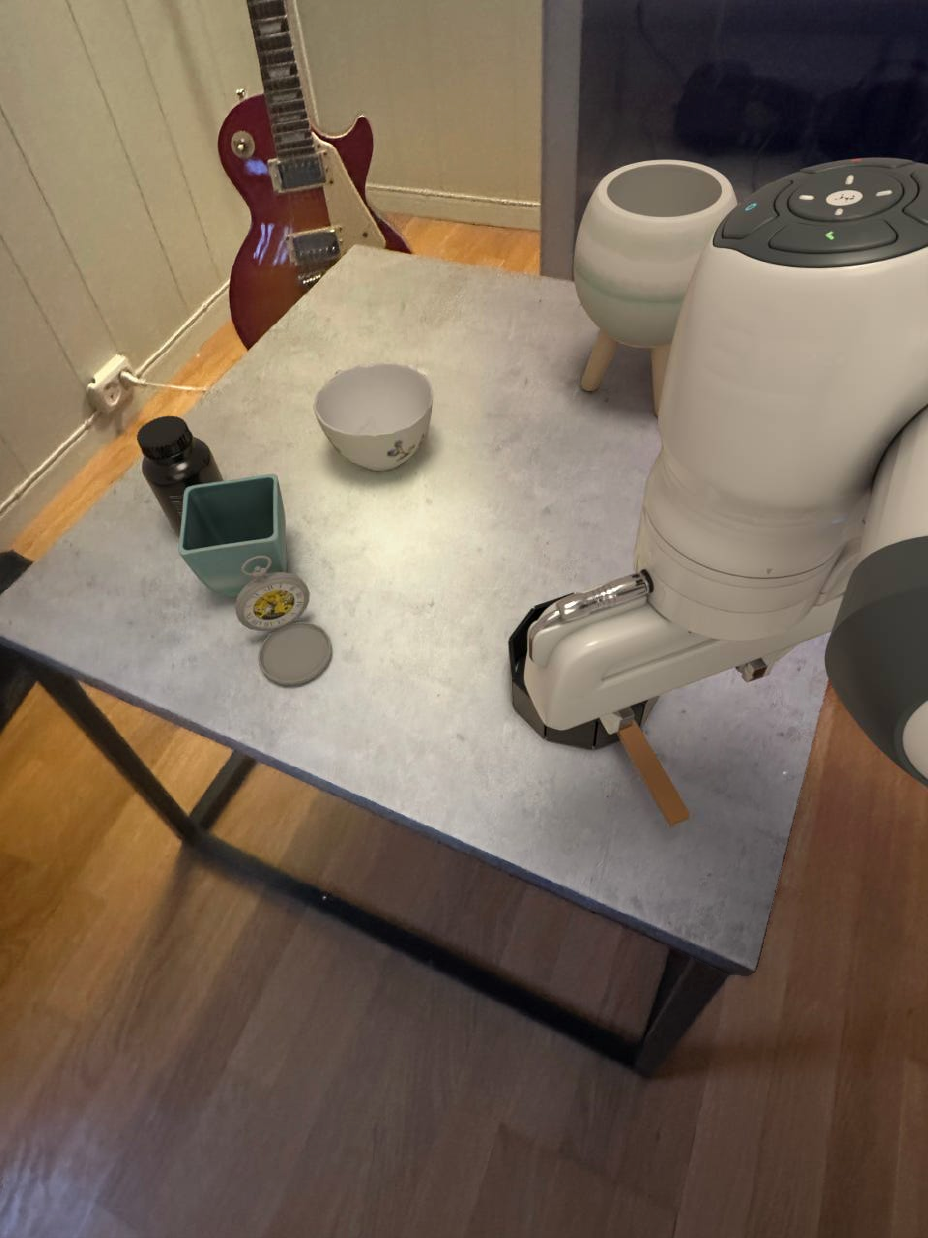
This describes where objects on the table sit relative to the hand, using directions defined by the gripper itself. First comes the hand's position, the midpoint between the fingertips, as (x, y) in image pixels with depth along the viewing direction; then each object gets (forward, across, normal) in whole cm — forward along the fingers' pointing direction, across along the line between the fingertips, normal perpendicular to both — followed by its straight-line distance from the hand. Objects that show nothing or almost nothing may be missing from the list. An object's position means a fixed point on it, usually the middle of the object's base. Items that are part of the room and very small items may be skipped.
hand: (682, 695), depth 47 cm
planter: (+15, +23, +45) cm, 53 cm away
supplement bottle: (+16, -28, +45) cm, 56 cm away
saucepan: (+15, 0, +7) cm, 17 cm away
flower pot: (+16, -25, +35) cm, 46 cm away
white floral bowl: (+16, -8, +48) cm, 51 cm away
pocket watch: (+16, -23, +25) cm, 37 cm away
